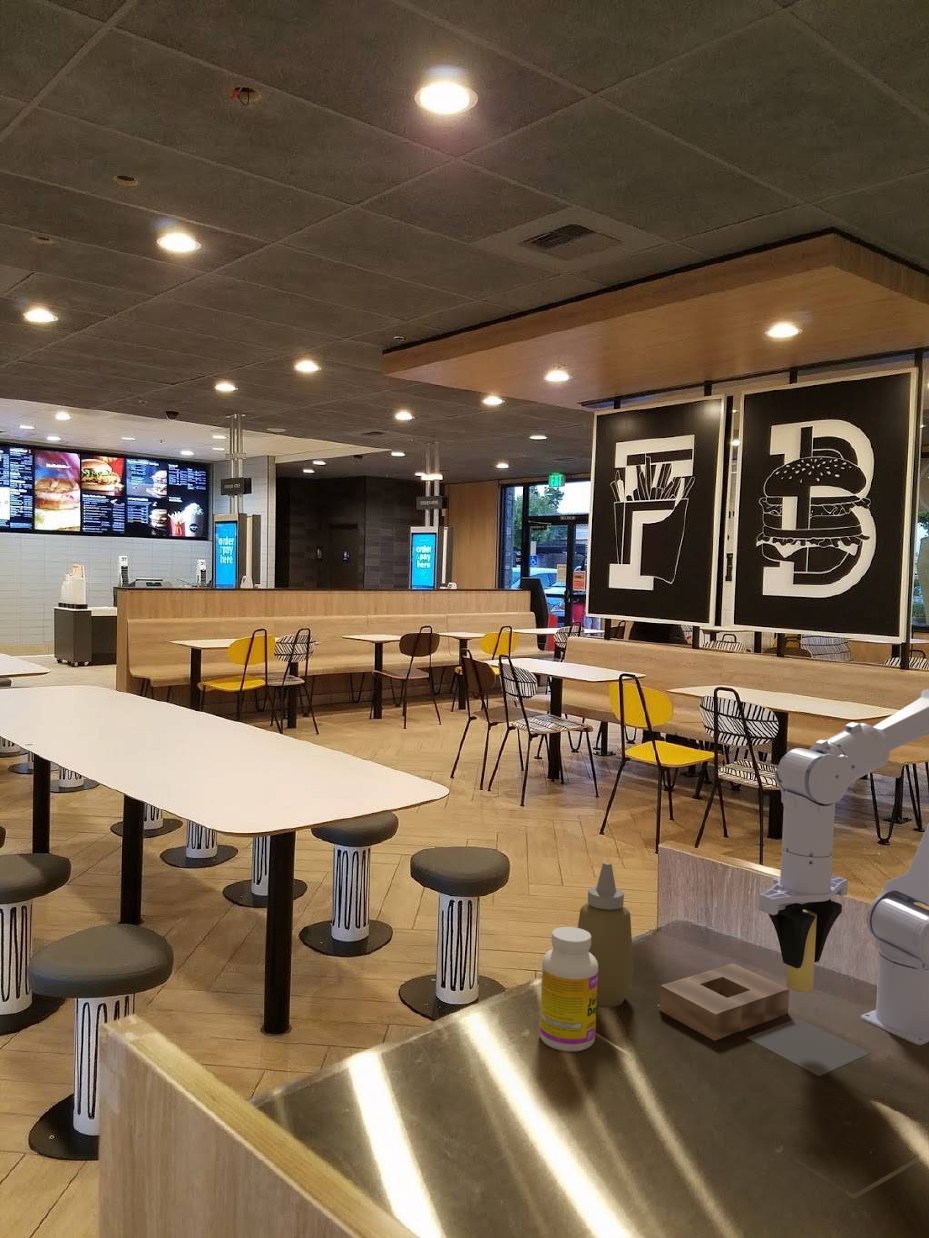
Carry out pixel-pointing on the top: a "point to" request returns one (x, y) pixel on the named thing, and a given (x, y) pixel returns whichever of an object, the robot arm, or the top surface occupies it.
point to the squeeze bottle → (609, 938)
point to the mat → (808, 1046)
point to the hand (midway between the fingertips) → (801, 961)
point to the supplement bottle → (569, 991)
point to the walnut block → (723, 1000)
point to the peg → (804, 964)
